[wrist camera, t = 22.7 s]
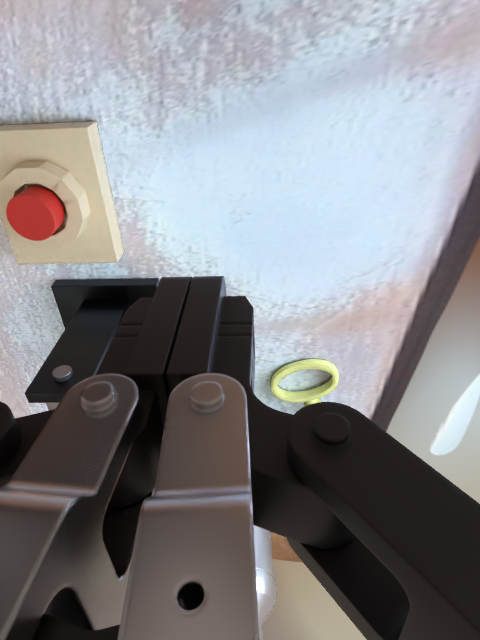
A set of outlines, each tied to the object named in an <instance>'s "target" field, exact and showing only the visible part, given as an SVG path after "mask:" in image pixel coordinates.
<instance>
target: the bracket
mask: <svg viewBox="0 0 480 640" xmlns="http://www.w3.org/2000/svg"><path fill="white" fill-rule="evenodd" d="M158 284H159V279H104V280H56V281H55V282H54V283H53V285H52V286H51V288H52V291H53V294H54V297H55V300H56V303H57V306H58V309H59V312H60V315H61V318H62V321H63V324H64V327H65V331H64V332H63V334H62V335H61V337H60V339H59V340H58V342H57V343H56V345H55V346H54V348H53V350H52V351H51V353H50V354H49V356H48V357H47V359H46V361H45V362H44V364H43V365H42V367H41V368H40V370H39V372H38V373H37V375H36V376H35V378H34V379H33V381H32V383H31V384H30V386H29V387H28V389H27V390H26V392H25V395H26V397H27V399H28V401H29V403H59V402H60V401H61V399H62V398H63V396H64V395H65V394H66V392H67V391H68V390H69V389H70V388H71V387H73V386H74V385H75V384H77V383H78V382H80V381H82V380H84V379H86V378H89V377H92V376H95V375H96V373H97V371H98V369H99V367H100V365H101V363H102V361H103V358H104V356H105V354H106V352H107V350H108V348H109V346H110V344H111V341H112V339H113V338H115V333H116V331H117V329H118V327H119V326H120V322H121V320H122V318H123V316H124V314H125V312H126V310H127V309H128V308H129V307H130V306H131V305H133V304H134V303H135V302H136V301H137V300H138V299H140V298H153V297H154V294H155V292H156V289H157V287H158Z"/></svg>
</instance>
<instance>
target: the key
mask: <svg viewBox="0 0 480 640" xmlns="http://www.w3.org/2000/svg"><path fill="white" fill-rule="evenodd" d="M304 369H320V370H325V371H327V372H329V373H330V374H332V377H331V379H330V380H329V381H328V382H326V383H325V384H323V385H321V386H319V387H316V388H313V389H310V390H305V391H298V392H291V391H285V390H282V389H281V388H279V387H278V385H277V384H278V382H279V381H280V380H282V379H283V378H284V377H285V376H287V375H289V374H291V373H293V372H296V371H299V370H304ZM338 380H339V374H338V371H337V368H336V367H335V365H334V364H332V363H331V362H329V361H326V360H321V359H307V360H301V361H296V362H293V363H290V364H288V365H285V366H283V367H282V368H280V369H279V370H278V371H276V372H275V373H274V375H273V376H272V379H271V382H270V386H271V389H272V392H273V394H274V395H275V396H276V397H277V398H278V399H280V400H282V401H286V402H296V403H297V402H304V407H305V406H307V405H310V404H313V403H319V402H321V399H320V398H321V397H323V396H325V395H327V394H329V393H330V392H332V391H333V390H334V389H335V388H336V387H337V385H338Z"/></svg>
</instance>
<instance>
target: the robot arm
mask: <svg viewBox="0 0 480 640" xmlns="http://www.w3.org/2000/svg"><path fill="white" fill-rule="evenodd" d="M254 373H255V343H254V315H253V307H252V305H251V304H250V303H249V301H248V300H247V298H246V297H245V296H226V287H225V279H224V276H207V277H193V278H192V277H162V278H161V279H160V282H159V284H158V287H157V289H156V292H155V294H154V297H153V298H140V299H138V300H137V301H136V302H135V303H134V304H133V305H131V306H130V307H129V308H128V309H127V310H126V312H125V314H124V316H123V318H122V320H121V322H120V326H119V327H118V329H117V331H116V333H115V338H113V339H112V341H111V344H110V346H109V348H108V350H107V352H106V354H105V356H104V358H103V361H102V363H101V365H100V367H99V369H98V371H97V373H96V375H95V376H92V377H89V378H86V379H84V380H82V381H80V382H78V383H77V384H75V385H74V386H73V387H71V388H70V389H69V390H68V391H67V392H66V394H65V395H64V396H63V398H62V399H61V401H60V402H59V404H58V406H57V407H56V409H53V410H49V411H46V412H41V413H37V414H33V415H29V416H24V417H20V418H16V419H15V418H14V416H13V414H12V412H11V410H10V408H9V407H8V406H7V405H6V404H4V403H2V402H0V640H260V639H259V621H258V602H257V583H256V564H255V545H254V526H253V525H255V526H257V527H260V528H263V529H265V530H268V531H271V532H274V533H276V534H279V535H282V536H284V537H287V539H288V542H289V544H290V546H291V548H292V549H293V550H294V552H295V553H296V554H297V555H298V557H299V558H300V559H301V560H302V561H303V563H304V564H305V565H306V566H307V568H308V569H309V570H310V571H311V572H312V573H313V575H314V576H315V577H316V578H317V580H318V581H319V582H320V583H321V585H322V586H323V587H324V588H325V589H326V591H327V592H328V593H329V594H330V595H331V597H332V598H333V599H334V600H335V601H336V603H337V604H338V605H339V606H340V607H341V609H342V610H343V611H344V612H345V614H346V615H347V616H348V617H349V618H350V620H351V621H352V622H353V623H354V624H355V626H356V627H357V628H358V629H359V630H360V632H361V633H362V634H363V635H364V637H365V638H366V639H367V640H480V504H479V503H477V502H476V501H475V500H474V499H472V498H471V497H470V496H469V495H467V494H466V493H465V492H463V491H462V490H461V489H459V488H458V487H457V486H455V485H454V484H453V483H452V482H450V481H449V480H448V479H446V478H445V477H444V476H442V475H441V474H440V473H438V472H437V471H436V470H435V469H433V468H432V467H431V466H429V465H428V464H427V463H425V462H424V461H423V460H422V459H420V458H419V457H417V456H416V455H415V454H414V453H412V452H411V451H410V450H409V449H407V448H406V447H405V446H403V445H402V444H400V443H399V442H398V441H397V440H395V439H394V438H393V437H392V436H390V435H389V434H388V433H386V432H385V431H384V430H382V429H381V428H380V427H379V426H377V425H376V424H375V423H373V422H372V421H371V420H369V419H368V418H367V417H365V416H364V415H363V414H362V413H360V412H359V411H357V410H356V409H353V408H351V407H349V406H347V405H344V404H340V403H335V402H319V403H313V404H310V405H307V406H305V407H303V408H301V409H300V410H299V411H297V412H296V413H295V414H294V415H292V414H288V413H284V412H281V411H278V410H275V409H272V408H270V407H268V406H267V405H265V404H263V403H262V402H261V401H260V400H259V399H258V398H257V397H256V396H255V395H254Z"/></svg>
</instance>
